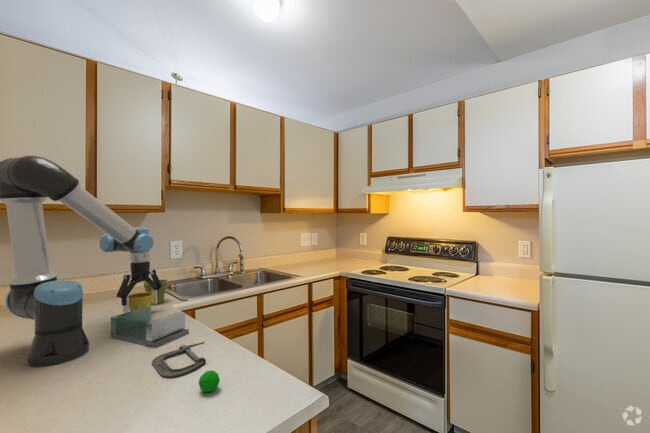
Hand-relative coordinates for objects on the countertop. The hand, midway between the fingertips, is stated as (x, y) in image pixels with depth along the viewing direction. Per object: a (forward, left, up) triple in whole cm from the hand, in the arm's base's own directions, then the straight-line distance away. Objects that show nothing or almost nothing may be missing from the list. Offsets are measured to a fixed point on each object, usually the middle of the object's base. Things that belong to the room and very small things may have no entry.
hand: (141, 307), depth 138 cm
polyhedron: (-34, -73, -4) cm, 81 cm away
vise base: (-14, -25, -4) cm, 29 cm away
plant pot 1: (0, 0, -4) cm, 4 cm away
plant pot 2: (+18, +13, -4) cm, 22 cm away
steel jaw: (-14, -34, -2) cm, 36 cm away
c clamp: (-24, -53, -5) cm, 59 cm away
